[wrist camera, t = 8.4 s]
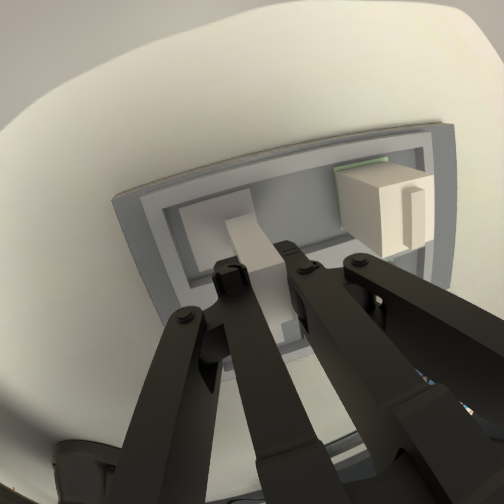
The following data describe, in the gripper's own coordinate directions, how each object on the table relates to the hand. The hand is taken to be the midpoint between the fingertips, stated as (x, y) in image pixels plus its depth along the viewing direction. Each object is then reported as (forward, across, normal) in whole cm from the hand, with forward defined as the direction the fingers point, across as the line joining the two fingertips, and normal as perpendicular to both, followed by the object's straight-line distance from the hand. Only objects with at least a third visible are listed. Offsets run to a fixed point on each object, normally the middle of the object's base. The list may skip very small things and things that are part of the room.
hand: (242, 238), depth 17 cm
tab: (+1, +9, 0) cm, 9 cm away
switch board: (+3, +6, -4) cm, 8 cm away
